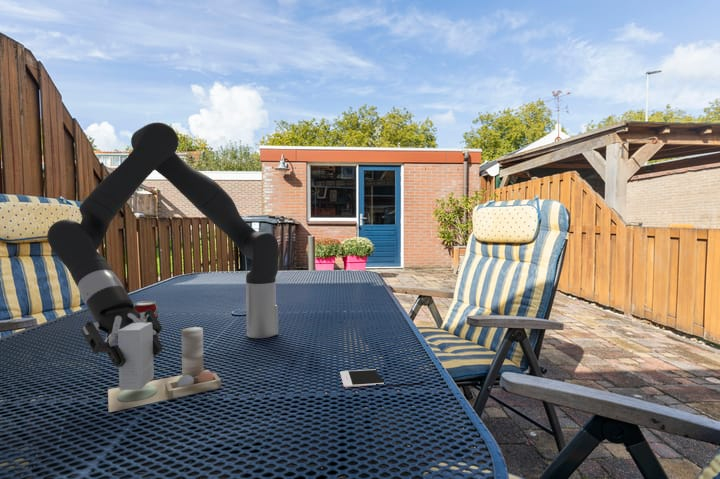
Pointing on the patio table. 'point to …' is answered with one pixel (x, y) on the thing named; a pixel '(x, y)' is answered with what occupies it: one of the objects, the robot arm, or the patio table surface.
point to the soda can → (146, 307)
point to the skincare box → (136, 355)
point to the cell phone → (360, 378)
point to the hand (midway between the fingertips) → (141, 358)
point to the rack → (168, 386)
